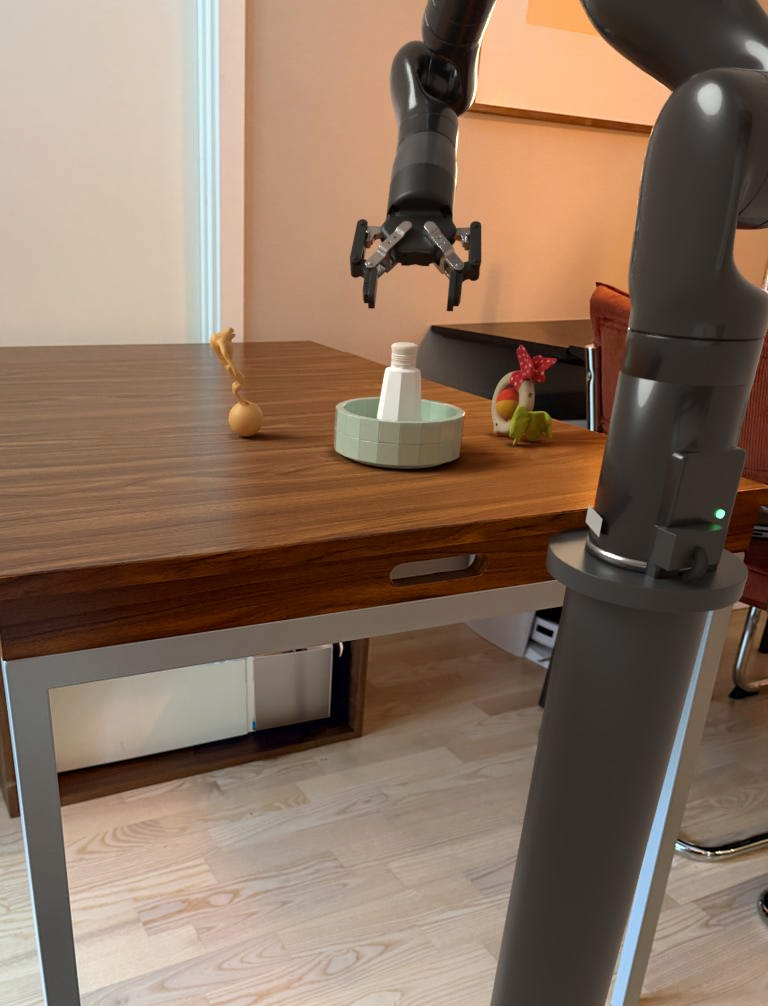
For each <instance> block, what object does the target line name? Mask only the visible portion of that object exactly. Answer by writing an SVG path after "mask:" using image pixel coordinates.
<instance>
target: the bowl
mask: <svg viewBox="0 0 768 1006" xmlns="http://www.w3.org/2000/svg"><path fill="white" fill-rule="evenodd" d="M379 401H380V396H374V397H373V396H370V397H358V398H351V399H346V400H343V401H341V402H339V403H337V404H336V405H335V409H334V410H335V412H334V413H335V414H334V431H333V432H334V433H333V448H334V450H335V452H336V453H338V454H339V455H341V456H343V457H346V458H348V459H350V460H351V461H354V462H356V463H360V464H364V465H367V466H373V467H377V468H379V467H380V468H385V469H386V468H387V469H403V470H407V469H409V470H410V469H411V470H412V469H414V470H415V469H426V468H427V469H428V468H433V467H437V466H441V465H443V464H446V463H451V462H453V461H454V460H457V459H459V457H460V456H461V450H462V443H463V431H464V425H465V417H466V411H464V410H463V409H462V408H461V407H458V406H456V405H454V404H451V403H447V402H443V401H437V400H432V399H425V398H421V421H396V420H384V419H377V413H378V407H379Z"/></svg>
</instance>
